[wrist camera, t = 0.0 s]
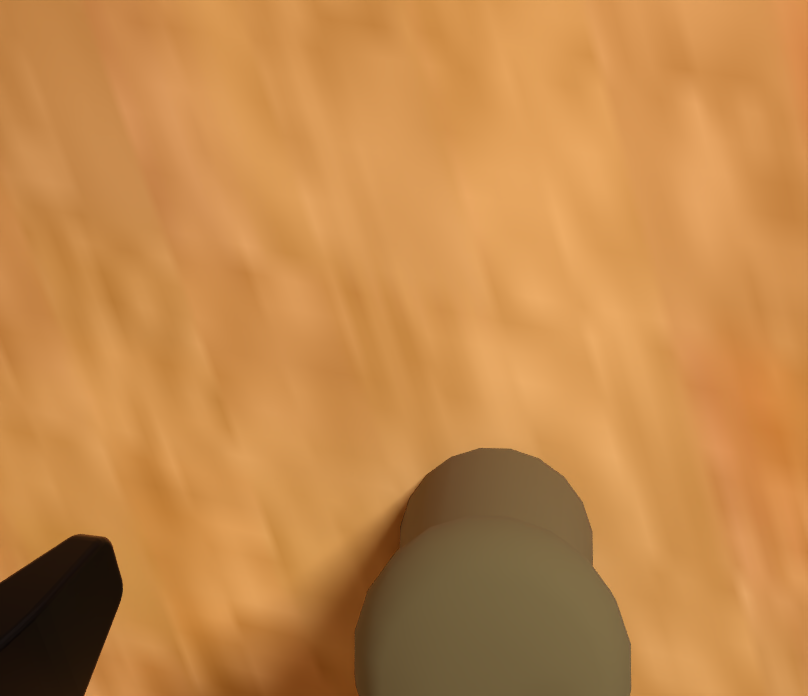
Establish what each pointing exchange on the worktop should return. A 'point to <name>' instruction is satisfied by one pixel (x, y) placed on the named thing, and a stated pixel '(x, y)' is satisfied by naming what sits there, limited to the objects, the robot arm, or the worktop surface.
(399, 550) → the cork
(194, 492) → the worktop surface
